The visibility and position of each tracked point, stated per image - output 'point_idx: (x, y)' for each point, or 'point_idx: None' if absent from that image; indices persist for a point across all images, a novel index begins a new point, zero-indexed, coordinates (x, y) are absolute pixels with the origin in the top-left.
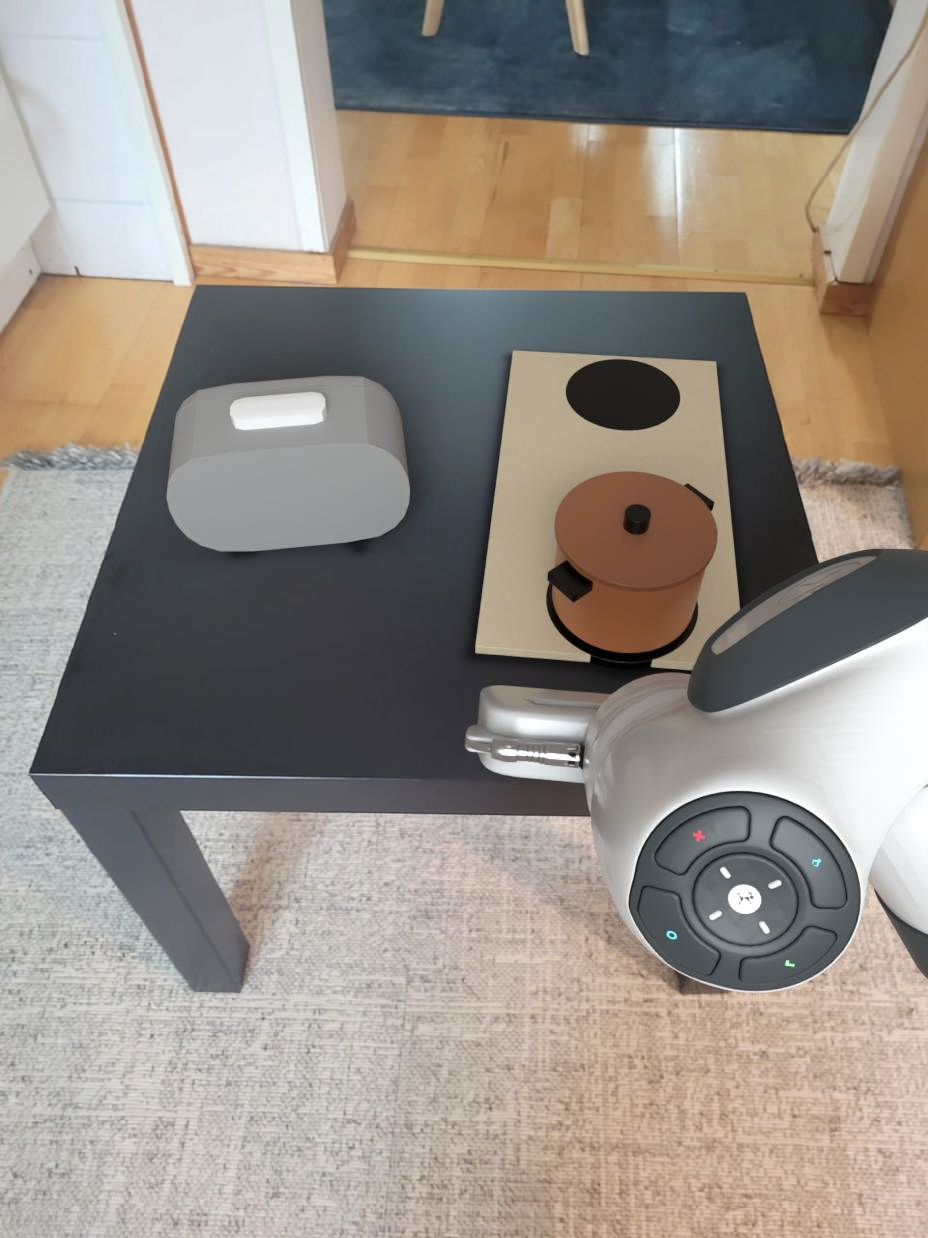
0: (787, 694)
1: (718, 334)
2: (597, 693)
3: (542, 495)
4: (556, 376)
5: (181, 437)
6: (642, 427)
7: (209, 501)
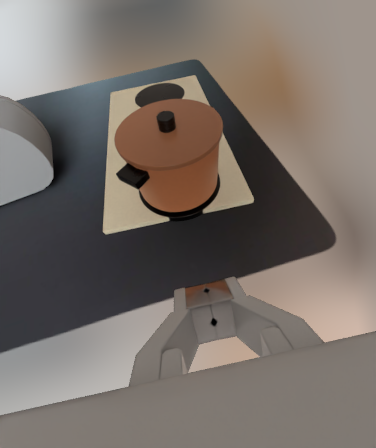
0: None
1: (193, 68)
2: (51, 439)
3: None
4: (130, 96)
5: None
6: None
7: None
